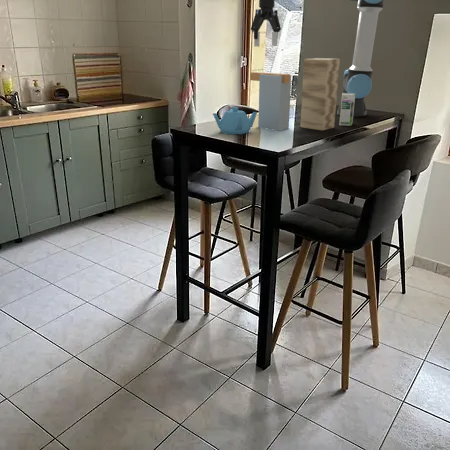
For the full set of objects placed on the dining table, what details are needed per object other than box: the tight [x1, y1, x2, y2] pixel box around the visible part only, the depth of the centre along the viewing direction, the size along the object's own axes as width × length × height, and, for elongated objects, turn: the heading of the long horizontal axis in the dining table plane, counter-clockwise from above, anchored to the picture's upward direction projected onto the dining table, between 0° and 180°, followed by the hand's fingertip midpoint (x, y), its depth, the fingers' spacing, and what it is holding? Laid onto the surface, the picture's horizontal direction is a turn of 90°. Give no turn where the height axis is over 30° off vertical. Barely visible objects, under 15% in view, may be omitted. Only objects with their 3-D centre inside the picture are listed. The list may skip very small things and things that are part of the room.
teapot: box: [212, 106, 258, 135], centre depth 203 cm, size 15×15×11 cm
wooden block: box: [300, 57, 341, 131], centre depth 209 cm, size 10×12×30 cm
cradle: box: [257, 74, 292, 131], centre depth 210 cm, size 8×12×24 cm, turn 46°
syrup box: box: [338, 93, 355, 127], centre depth 218 cm, size 6×6×14 cm
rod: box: [249, 71, 291, 83], centre depth 208 cm, size 4×20×4 cm, turn 46°
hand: (265, 46), depth 228 cm, fingers open, 13 cm apart
